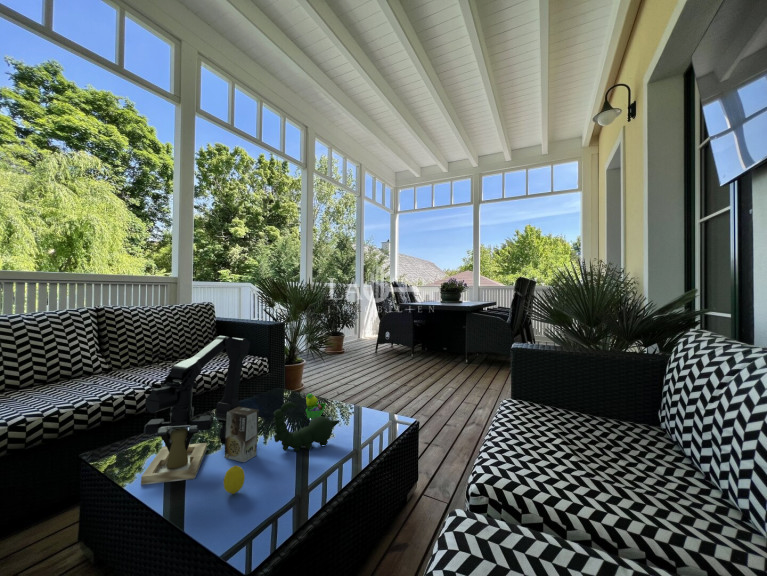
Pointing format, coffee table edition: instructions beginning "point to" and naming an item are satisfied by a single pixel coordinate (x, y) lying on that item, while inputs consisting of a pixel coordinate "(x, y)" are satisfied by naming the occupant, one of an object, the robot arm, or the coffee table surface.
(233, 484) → the lemon
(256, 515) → the coffee table surface
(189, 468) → the keyhole plate
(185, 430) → the cork
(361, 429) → the coffee table surface
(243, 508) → the coffee table surface
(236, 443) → the coffee box
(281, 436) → the toy figurine
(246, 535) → the coffee table surface
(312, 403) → the fruit basket
